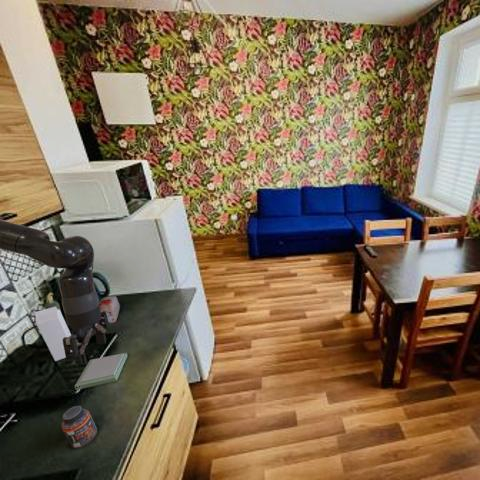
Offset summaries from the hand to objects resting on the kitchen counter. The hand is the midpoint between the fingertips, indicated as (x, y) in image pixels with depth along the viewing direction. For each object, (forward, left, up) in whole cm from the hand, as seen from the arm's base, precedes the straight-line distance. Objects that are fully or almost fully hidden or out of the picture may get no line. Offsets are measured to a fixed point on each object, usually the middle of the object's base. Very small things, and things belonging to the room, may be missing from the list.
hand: (92, 353), depth 80 cm
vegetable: (-33, +45, -21) cm, 60 cm away
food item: (-17, +50, -21) cm, 57 cm away
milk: (-25, +29, -21) cm, 44 cm away
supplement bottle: (-3, -11, -21) cm, 24 cm away
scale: (-7, +14, -21) cm, 26 cm away
